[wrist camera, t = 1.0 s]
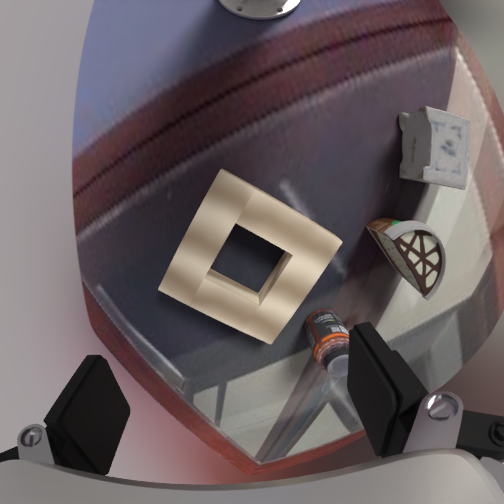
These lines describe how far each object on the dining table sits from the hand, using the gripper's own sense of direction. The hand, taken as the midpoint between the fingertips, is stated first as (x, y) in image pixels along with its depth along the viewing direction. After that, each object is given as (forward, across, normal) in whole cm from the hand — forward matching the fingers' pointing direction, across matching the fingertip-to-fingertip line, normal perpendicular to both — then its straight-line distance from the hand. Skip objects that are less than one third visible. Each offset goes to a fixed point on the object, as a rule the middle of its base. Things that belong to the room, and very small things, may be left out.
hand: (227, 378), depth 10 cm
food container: (+32, -23, +5) cm, 40 cm away
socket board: (+32, -1, +5) cm, 32 cm away
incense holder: (+31, -28, -8) cm, 42 cm away
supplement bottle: (+32, -11, +18) cm, 39 cm away
